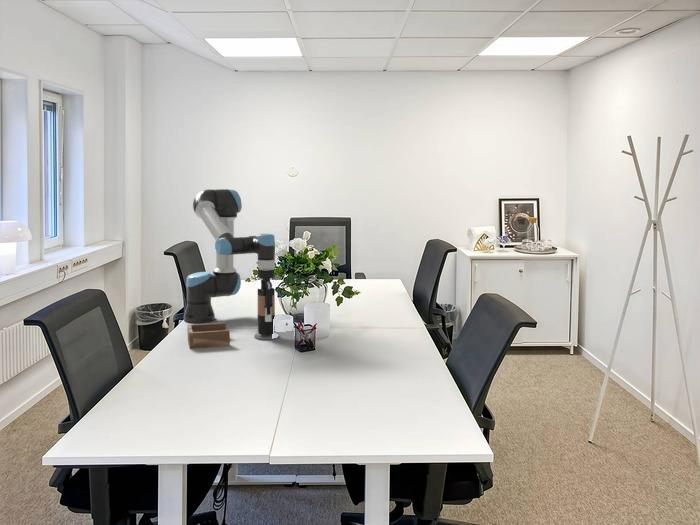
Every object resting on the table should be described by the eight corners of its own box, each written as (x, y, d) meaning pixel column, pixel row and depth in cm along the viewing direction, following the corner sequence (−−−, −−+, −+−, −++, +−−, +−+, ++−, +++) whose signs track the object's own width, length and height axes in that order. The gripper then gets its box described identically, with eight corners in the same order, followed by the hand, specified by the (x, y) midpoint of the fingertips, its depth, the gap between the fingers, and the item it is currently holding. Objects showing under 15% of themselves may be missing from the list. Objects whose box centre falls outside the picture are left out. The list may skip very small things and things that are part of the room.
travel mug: (273, 335, 261) (273, 290, 258) (256, 334, 261) (255, 290, 258) (276, 330, 268) (275, 287, 265) (259, 330, 268) (259, 287, 266)
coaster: (252, 334, 268) (252, 332, 268) (276, 333, 272) (276, 331, 272) (256, 341, 258) (256, 339, 258) (281, 339, 261) (281, 337, 261)
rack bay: (187, 339, 259) (187, 324, 258) (225, 336, 265) (225, 322, 264) (189, 348, 245) (189, 333, 244) (229, 345, 250) (229, 330, 250)
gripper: (254, 265, 269) (254, 314, 272) (261, 272, 250) (262, 325, 253) (270, 265, 271) (270, 313, 275) (279, 272, 252) (279, 324, 255)
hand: (266, 319), depth 264 cm, fingers open, 8 cm apart
